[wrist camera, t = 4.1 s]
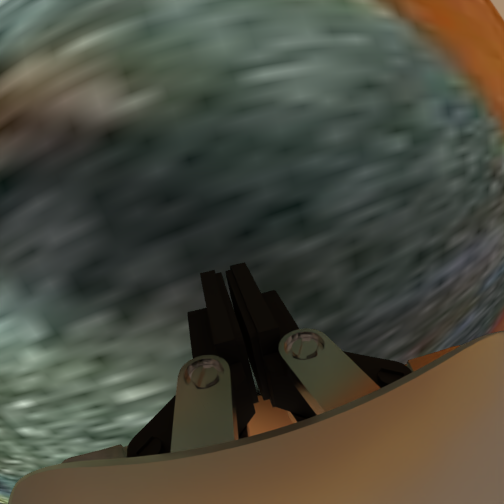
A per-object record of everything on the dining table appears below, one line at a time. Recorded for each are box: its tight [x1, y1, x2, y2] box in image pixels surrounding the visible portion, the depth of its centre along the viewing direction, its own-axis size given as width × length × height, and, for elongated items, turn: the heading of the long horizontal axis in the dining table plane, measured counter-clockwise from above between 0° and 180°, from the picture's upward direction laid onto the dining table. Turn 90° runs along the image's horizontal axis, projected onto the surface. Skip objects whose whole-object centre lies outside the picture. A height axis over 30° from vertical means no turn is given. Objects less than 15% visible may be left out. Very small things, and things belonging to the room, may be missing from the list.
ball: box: [248, 396, 293, 436], centre depth 14 cm, size 6×6×6 cm
